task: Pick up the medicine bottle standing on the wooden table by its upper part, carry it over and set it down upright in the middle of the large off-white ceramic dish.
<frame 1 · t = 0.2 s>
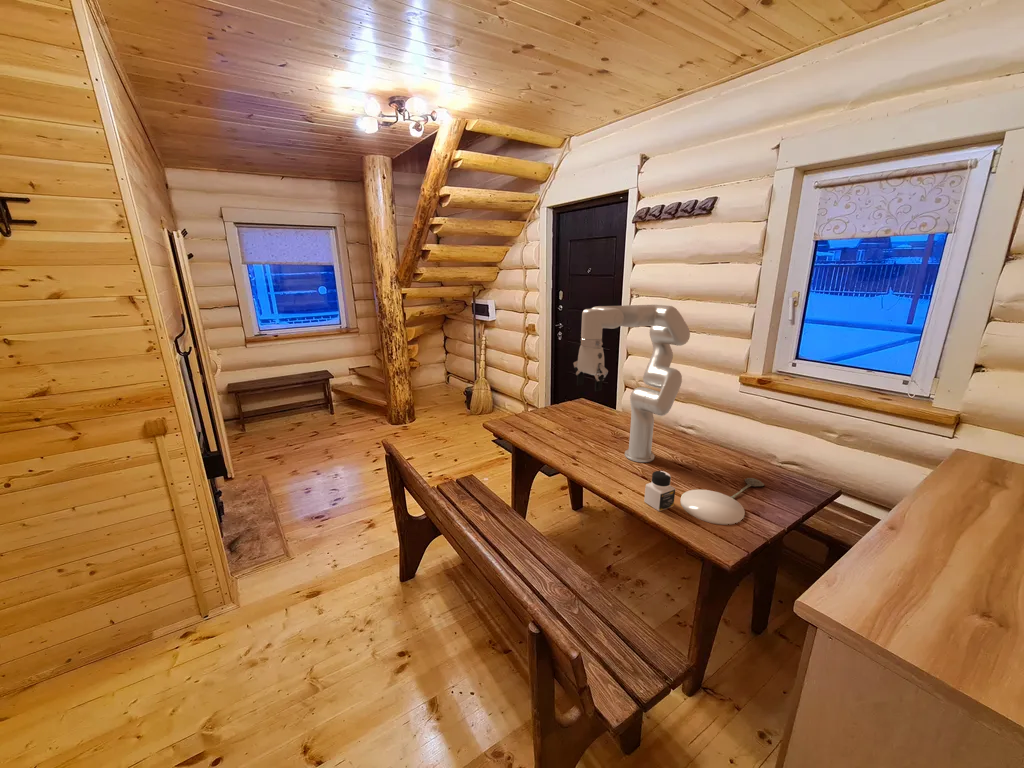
hand: (589, 387, 153), 37 cm above the table, tool pointing down, fingers open, 9 cm apart
dish: (711, 507, 140), on the table
grey spatula: (744, 491, 152), on the table
medicine bottle: (658, 504, 143), on the table
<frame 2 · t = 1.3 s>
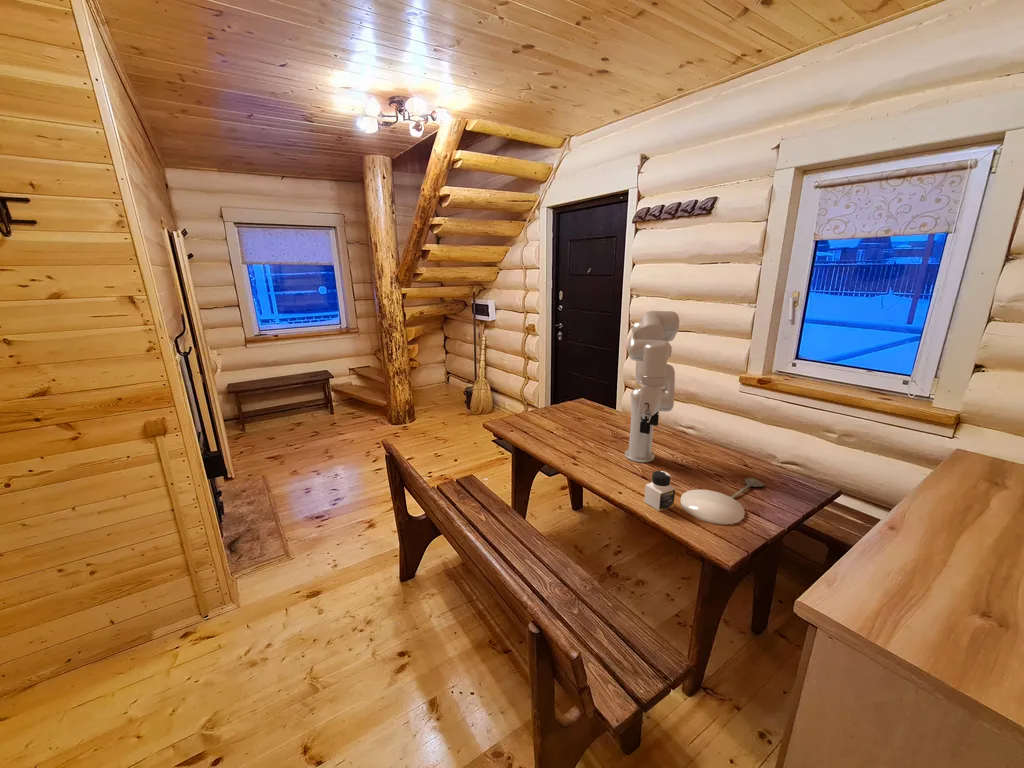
hand: (648, 428, 139), 27 cm above the table, tool pointing down, fingers open, 9 cm apart
nothing on the table moved.
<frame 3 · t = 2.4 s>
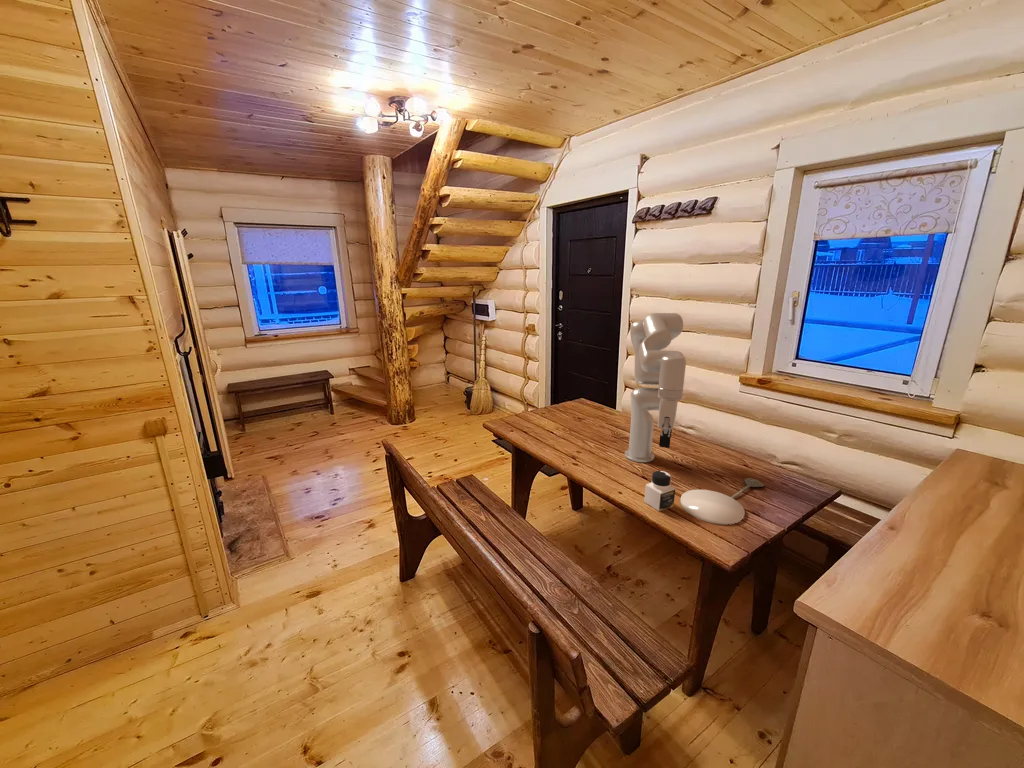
hand: (665, 441, 136), 24 cm above the table, tool pointing down, fingers open, 9 cm apart
nothing on the table moved.
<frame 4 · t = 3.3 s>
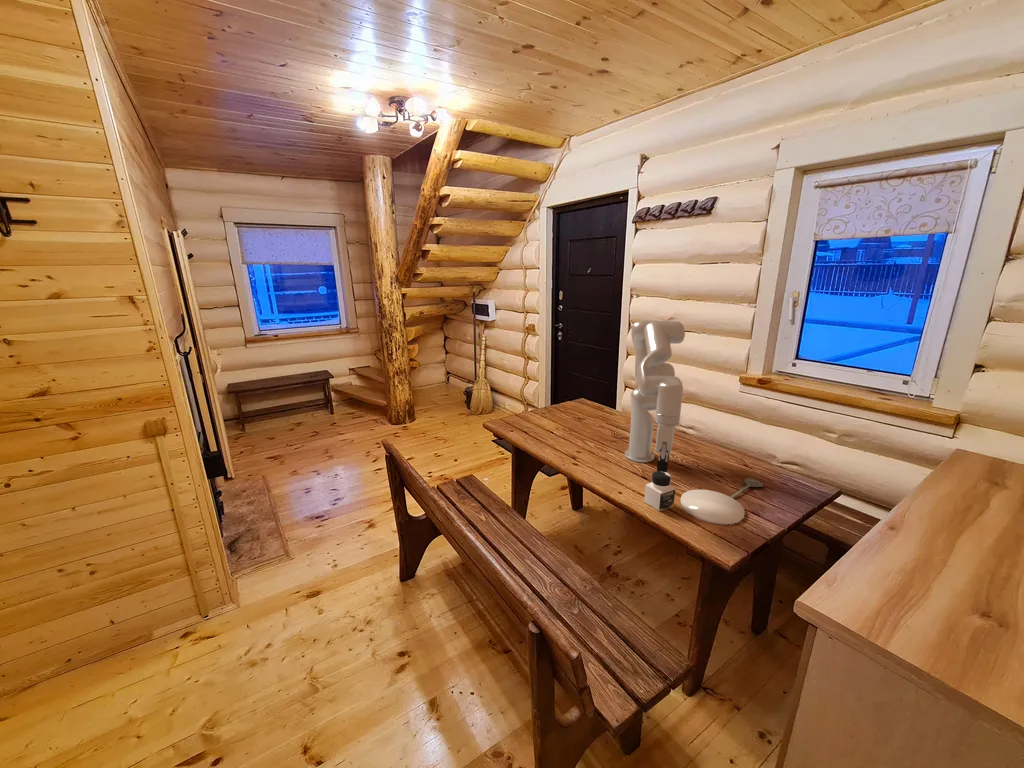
hand: (662, 465, 138), 15 cm above the table, tool pointing down, fingers open, 9 cm apart
nothing on the table moved.
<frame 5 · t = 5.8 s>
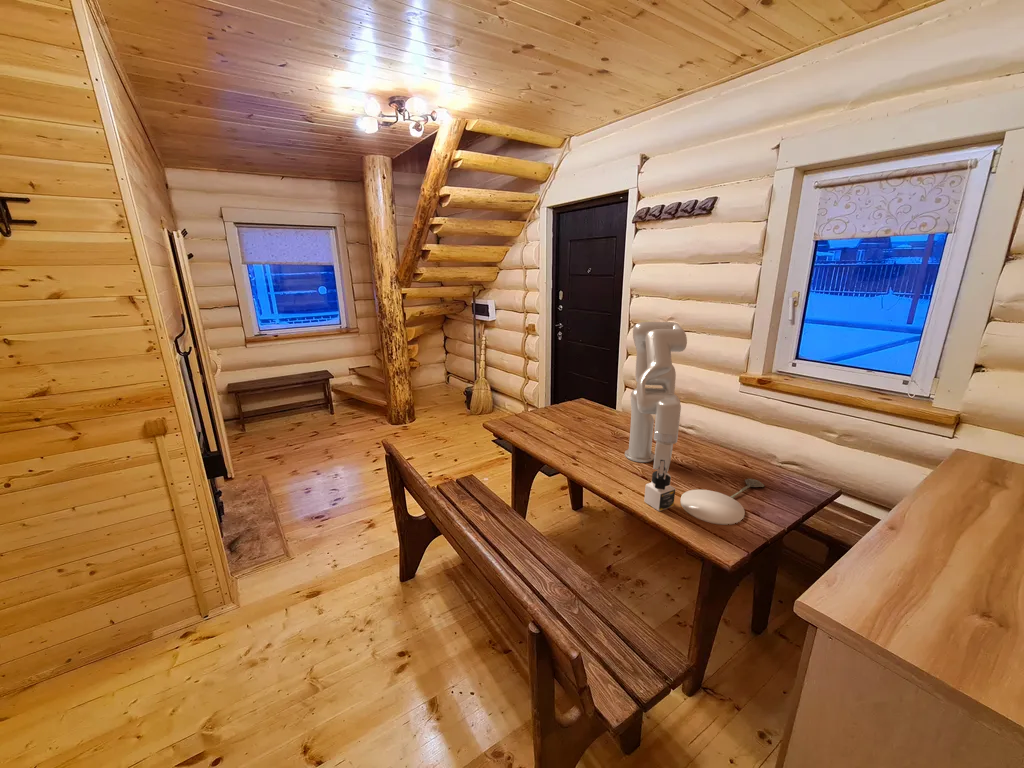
hand: (660, 483, 140), 8 cm above the table, tool pointing down, fingers closed on medicine bottle, 6 cm apart
medicine bottle: (658, 504, 143), on the table, touching gripper
everything else where it was.
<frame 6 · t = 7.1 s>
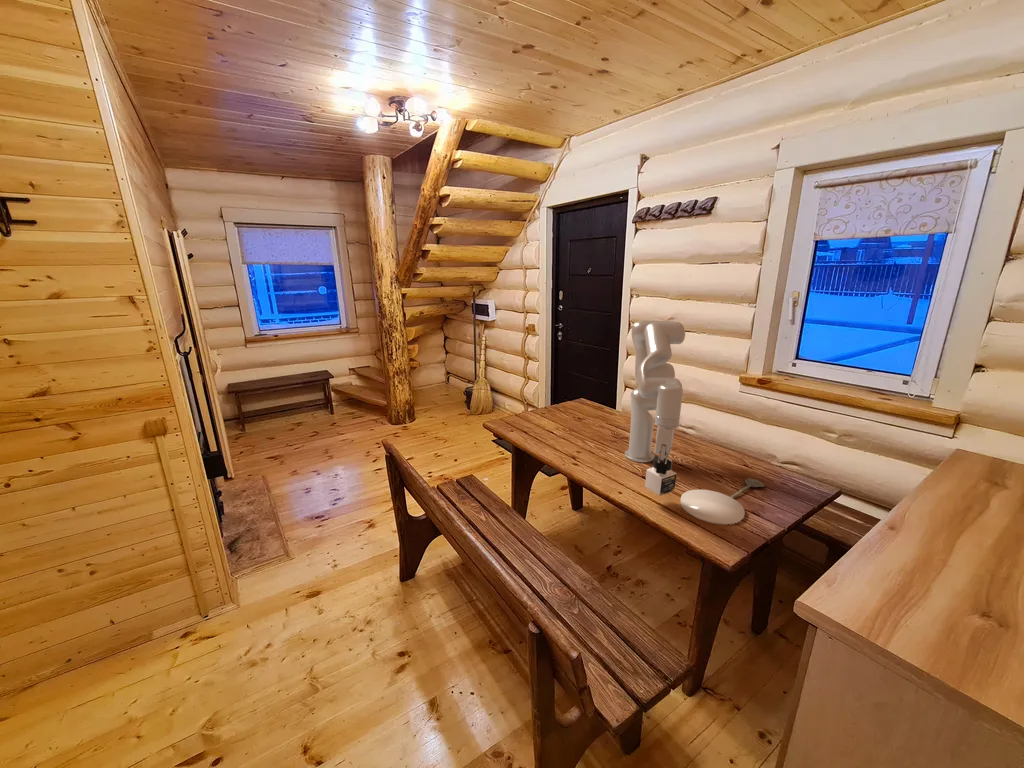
hand: (661, 468, 139), 14 cm above the table, tool pointing down, fingers closed on medicine bottle, 6 cm apart
medicine bottle: (659, 489, 142), point 5 cm above the table, touching gripper
everything else where it was.
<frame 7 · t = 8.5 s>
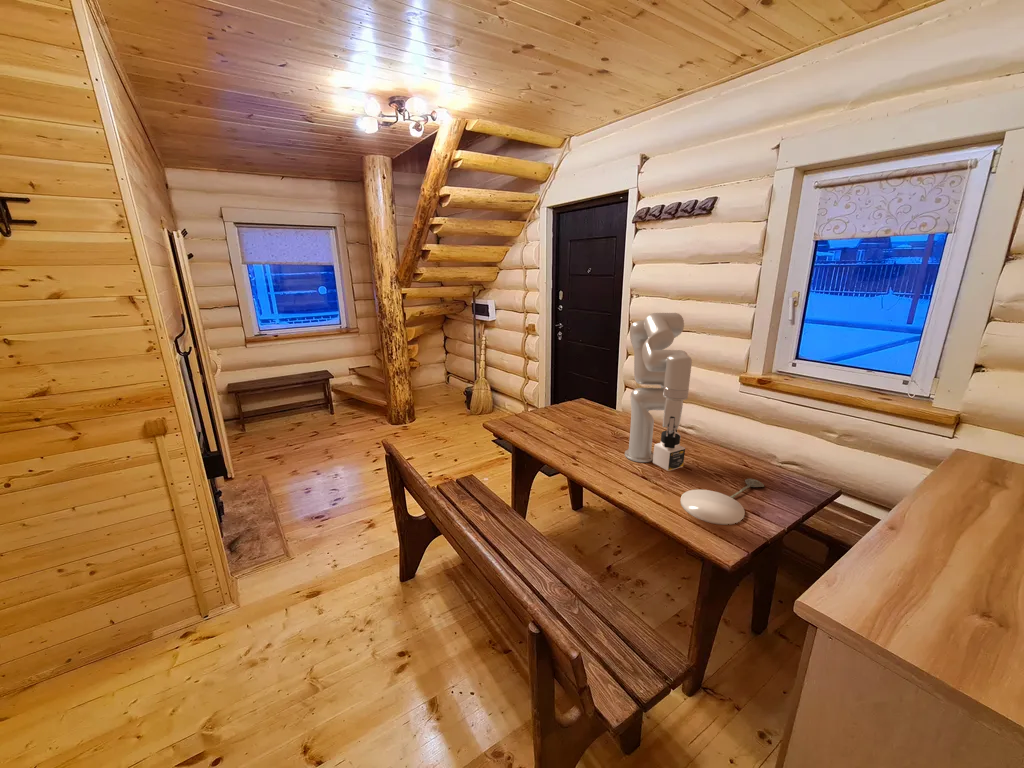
hand: (670, 443, 136), 23 cm above the table, tool pointing down, fingers closed on medicine bottle, 6 cm apart
medicine bottle: (667, 465, 138), point 15 cm above the table, touching gripper
everything else where it was.
when the fingers open (10 cm above the table, at t = 13.0 s): medicine bottle drops 1 cm, resting on dish.
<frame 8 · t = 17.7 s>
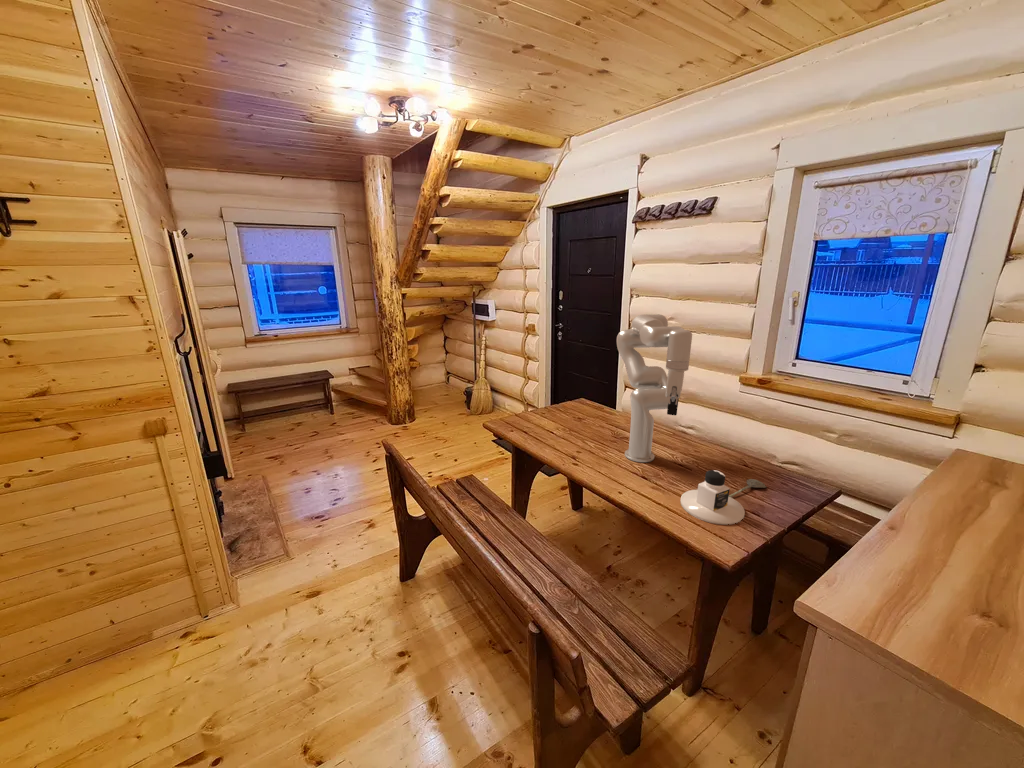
hand: (672, 410, 147), 30 cm above the table, tool pointing down, fingers open, 9 cm apart
medicine bottle: (711, 504, 140), point 1 cm above the table, touching dish
everything else where it was.
at the end: medicine bottle inside the target area on the dish (0.2 cm from its centre), point 1.0 cm above the dish's base; medicine bottle tilted 0°; the gripper is holding nothing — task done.
